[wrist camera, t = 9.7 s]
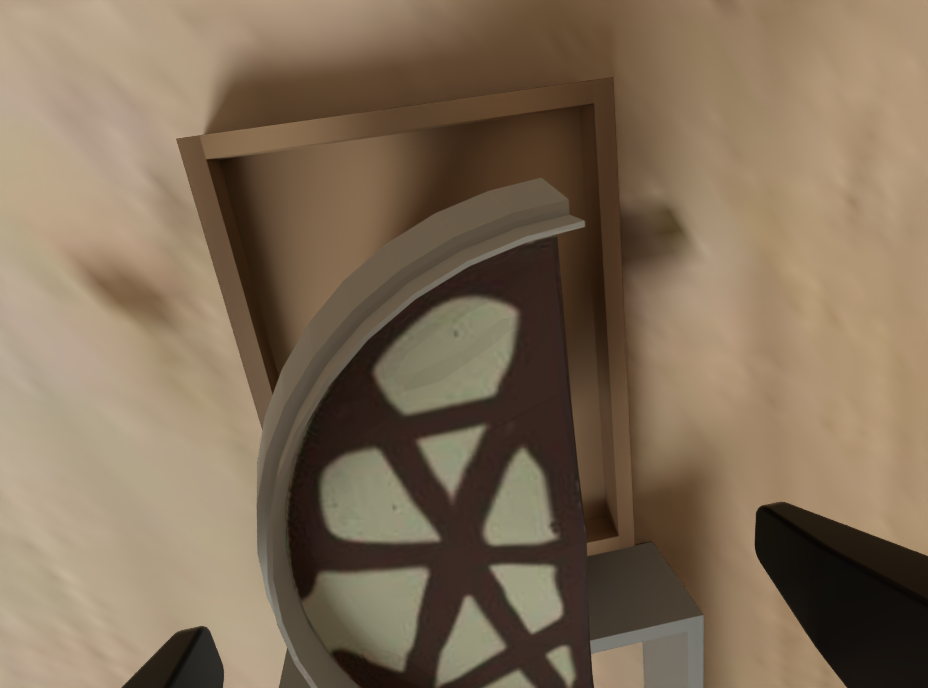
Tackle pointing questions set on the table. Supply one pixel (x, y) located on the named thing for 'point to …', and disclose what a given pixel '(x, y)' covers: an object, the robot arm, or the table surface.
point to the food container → (433, 464)
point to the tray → (407, 204)
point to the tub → (629, 617)
